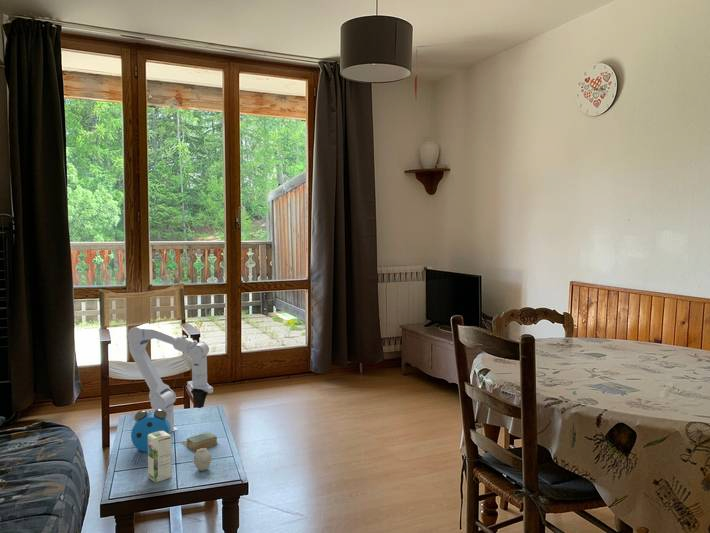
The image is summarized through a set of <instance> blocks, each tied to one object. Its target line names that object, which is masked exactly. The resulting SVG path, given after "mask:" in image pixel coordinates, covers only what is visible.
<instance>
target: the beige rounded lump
mask: <svg viewBox="0 0 710 533" xmlns="http://www.w3.org/2000/svg"><path fill="white" fill-rule="evenodd" d="M212 459H213V458H212V455H211V453H210V451H209V450H208V448H201V449H198V450H197V451H196V452H194V455H193V459H192V461H193V464H194V466H195V468H196V469H197V470H198V471H201V472H203V471H207V469H209V468H210V466H211V463H212V461H213V460H212Z"/></svg>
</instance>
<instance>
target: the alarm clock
mask: <svg viewBox="0 0 710 533" xmlns="http://www.w3.org/2000/svg"><path fill="white" fill-rule="evenodd" d="M152 411H153V410H150V411H148V412H147V410H144V409H141V410H138V411H137V412H136V413H135V414H134V417H133V419H134V420H133V421H135V423H134V425H133V426H132V429H131V432H130V433H131V434H130V438H131V439H130V440H131V443H132V444H133V446H134V447H135V448H136V449H138V450H139V451H141V452H144V453H148V434H151V433H154V432H158V431H165V432H166V433H168V434H169V435H171V433H172V432H171V426H170V422H169V420H168V419H167V413H166V411H165V410H163V409H157V410H155V412H152Z"/></svg>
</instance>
